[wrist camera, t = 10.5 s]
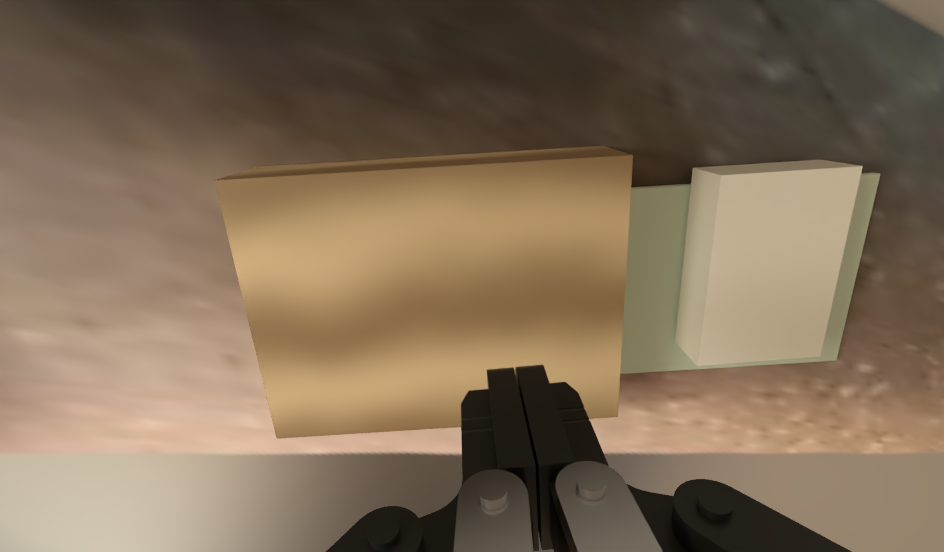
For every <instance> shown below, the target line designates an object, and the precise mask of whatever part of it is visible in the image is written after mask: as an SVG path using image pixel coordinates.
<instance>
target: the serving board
mask: <svg viewBox="0 0 944 552" xmlns="http://www.w3.org/2000/svg"><path fill="white" fill-rule="evenodd" d="M632 164H633V155H631V154H628V153H625V152H622V151H619V150H615V149H612V148H609V147H606V146H591V147H574V148H558V149H541V150H525V151H508V152H492V153H475V154H459V155H442V156H426V157H409V158H393V159H377V160H360V161H344V162H327V163H311V164H294V165H278V166H261V167H254V168H251V169H248V170H245V171H242V172H239V173H236V174H233V175H230V176H227V177H224V178H221V179H217V180H215V185H216V189H217V193H218V197H219V201H220V205H221V209H222V214H223V218H224V222H225V226H226V230H227V234H228V238H229V243H230V247H231V251H232V255H233V259H234V263H235V267H236V272H237V276H238V280H239V284H240V288H241V292H242V296H243V301H244V305H245V309H246V313H247V317H248V321H249V326H250V330H251V334H252V338H253V342H254V346H255V350H256V355H257V359H258V363H259V367H260V371H261V375H262V379H263V384H264V388H265V392H266V396H267V400H268V404H269V408H270V413H271V417H272V421H273V425H274V429H275V433H276V437H277V438H292V437H308V436H324V435H340V434H355V433H371V432H387V431H403V430H419V429H434V428H450V427H461V403H462V401H463V399H464V397H465V396H466V394H467V392H468V391H470V390H481V389H488V382H487V370H489V369H500V368H511V367H514V370H515V368H516V367H521V366H532V365H544V368H545V371H546V374H547V377H548V380H549V383H557V382H566V383H568V384H569V385H570V386H571V387H572V388H573V389H574V390H576V391H577V392H578V393H579V396H580V398H581V400H582V403H583V405H584V409H585V410H586V412H587V415H588V417H589V419H593V418H609V417H618V403H619V386H620V369H621V351H622V334H623V317H624V300H625V283H626V266H627V249H628V232H629V215H630V198H631V181H632Z"/></svg>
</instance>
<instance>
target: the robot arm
mask: <svg viewBox="0 0 944 552" xmlns="http://www.w3.org/2000/svg"><path fill="white" fill-rule="evenodd" d="M487 382H488V389H481V390H470V391H468V392H467V394H466V396H465V397H464V399H463V401H462V403H461V430H462V468H463V482H462V486H461V488H460V490H459V493H458V494H457V496H456V497H455V498H454V499H453V500H452V501H451V502H450V503H449V504H448V505H447V506H445V507H444V508H442V509H440V510H438V511H436V512H434V513H431V514H429V515H426V516H423V517H421V518H418V517H417V516H416V515H415V514H414V513H413V512H412V511H410V510H408V509H406V508H403V507H398V506H388V507H383V508H379V509H376V510H374V511H372V512H370V513H368V514H367V515H365V516H364V517H362V518H361V519H360V520H359V521H358V522H357V523H356V524H355V525H354V526H353V527H352V528H351V529H349V530H348V531H347V532H346V533H345V534H344V535H343V536H342V537H341V538H340V539H339V540H338V541H337V542H336V543H335V544H334V545H333V546H332V547H330V548H329V549H328V550H327V551H326V552H534V551H538V550H539V542H538V532H539V537H540V543H541V548H542V550H547V549H554V552H851V551H849V550H848V549H846V548H844V547H842V546H840V545H838V544H836V543H834V542H832V541H831V540H829V539H827V538H825V537H823V536H821V535H819V534H818V533H816V532H814V531H812V530H810V529H808V528H806V527H804V526H803V525H801V524H799V523H797V522H795V521H793V520H791V519H790V518H788V517H786V516H784V515H782V514H780V513H778V512H777V511H774V510H773V509H771V508H769V507H767V506H765V505H763V504H762V503H760V502H758V501H756V500H754V499H752V498H750V497H749V496H747V495H745V494H743V493H741V492H739V491H737V490H735V489H733V488H732V487H730V486H728V485H725V484H723V483H720V482H717V481H713V480H706V479H696V480H690V481H687V482H685V483H683V484H681V485H680V486H679V487H678V488H677V489H676V491H675V494H674V496H669V495H663V494H657V493H651V492H647V491H642V490H639V489H636V488H634V487H632V486H630V485H628V484H626V483H625V481H624V479H623V478H622V476H621V475H620V474H619V473H618V472H616V471H615V470H614V469H612V468H611V467H609V466H608V463H607V461H606V459H605V456H604V454H603V451H602V449H601V446H600V444H599V442H598V439H597V437H596V434H595V432H594V429H593V427H592V425H591V422H590V421H589V417H588V415H587V412H586V410H585V409H584V405H583V403H582V400H581V398H580V396H579V393H578V392H577V391H576V390H574V389H573V388H572V387H571V386H570V385H569V384H568V383H566V382H557V383H549V380H548V377H547V374H546V371H545V368H544V365H532V366H521V367H516V368H515V370H514V367H511V368H500V369H489V370H487Z"/></svg>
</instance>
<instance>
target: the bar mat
mask: <svg viewBox="0 0 944 552" xmlns="http://www.w3.org/2000/svg"><path fill="white" fill-rule="evenodd" d="M879 178H880V174H879V173H874V172H873V173H861V176H860V181H859V185H858V190H857V194H856V199H855V203H854V208H853V212H852V217H851V221H850V226H849V230H848V235H847V239H846V244H845V248H844V253H843V257H842V262H841V266H840V271H839V275H838V280H837V284H836V289H835V293H834V297H833V302H832V306H831V311H830V315H829V320H828V324H827V329H826V333H825V338H824V342H823V347H822V351H821V356H819V357H806V358H793V359H780V360H768V361H755V362H742V363H729V364H716V365H703V366H697V365H696V364H695V363H694V362H693V361H692V360H691V358H690V357H689V356H688V355H687V354H686V353H685V352H684V351H683V350H682V349H681V348H680V347H679V346H678V345H677V344H676V343H675V337H676V327H677V317H678V307H679V297H680V288H681V278H682V268H683V258H684V249H685V239H686V229H687V219H688V209H689V200H690V190H691V184H677V185H661V186H644V187H631V198H630V215H629V232H628V249H627V266H626V283H625V300H624V317H623V334H622V351H621V369H620V374H629V373H644V372H660V371H676V370H692V369H708V368H724V367H740V366H756V365H772V364H788V363H804V362H820V361H836V360H837V356H838V351H839V347H840V343H841V339H842V335H843V330H844V326H845V322H846V318H847V313H848V309H849V305H850V301H851V297H852V292H853V288H854V284H855V280H856V275H857V271H858V267H859V263H860V258H861V254H862V250H863V246H864V242H865V237H866V233H867V229H868V225H869V220H870V216H871V212H872V208H873V204H874V199H875V195H876V191H877V187H878V182H879Z"/></svg>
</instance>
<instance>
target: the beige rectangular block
mask: <svg viewBox="0 0 944 552" xmlns="http://www.w3.org/2000/svg"><path fill="white" fill-rule="evenodd" d="M862 167H863V166H859V165H853V164H846V163H840V162H833V161H827V160H805V161H789V162H774V163H759V164H743V165H728V166H712V167H697V168H693V170H692V180H691V190H690V200H689V209H688V219H687V229H686V239H685V249H684V258H683V268H682V278H681V288H680V297H679V307H678V317H677V327H676V337H675V343H676V344H677V345H678V346H679V347H680V348H681V349H682V350H683V351H684V352H685V353H686V354H687V355H688V356H689V357H690V358H691V360H692V361H693V362H694V363H695V364H696V365H697V366H703V365H716V364H729V363H742V362H755V361H768V360H780V359H793V358H806V357H819V356H821V351H822V347H823V342H824V338H825V333H826V329H827V324H828V320H829V315H830V311H831V306H832V302H833V297H834V293H835V289H836V284H837V280H838V275H839V271H840V266H841V262H842V257H843V253H844V248H845V244H846V239H847V235H848V230H849V226H850V221H851V217H852V212H853V208H854V203H855V199H856V194H857V190H858V185H859V181H860V176H861V172H862Z"/></svg>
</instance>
